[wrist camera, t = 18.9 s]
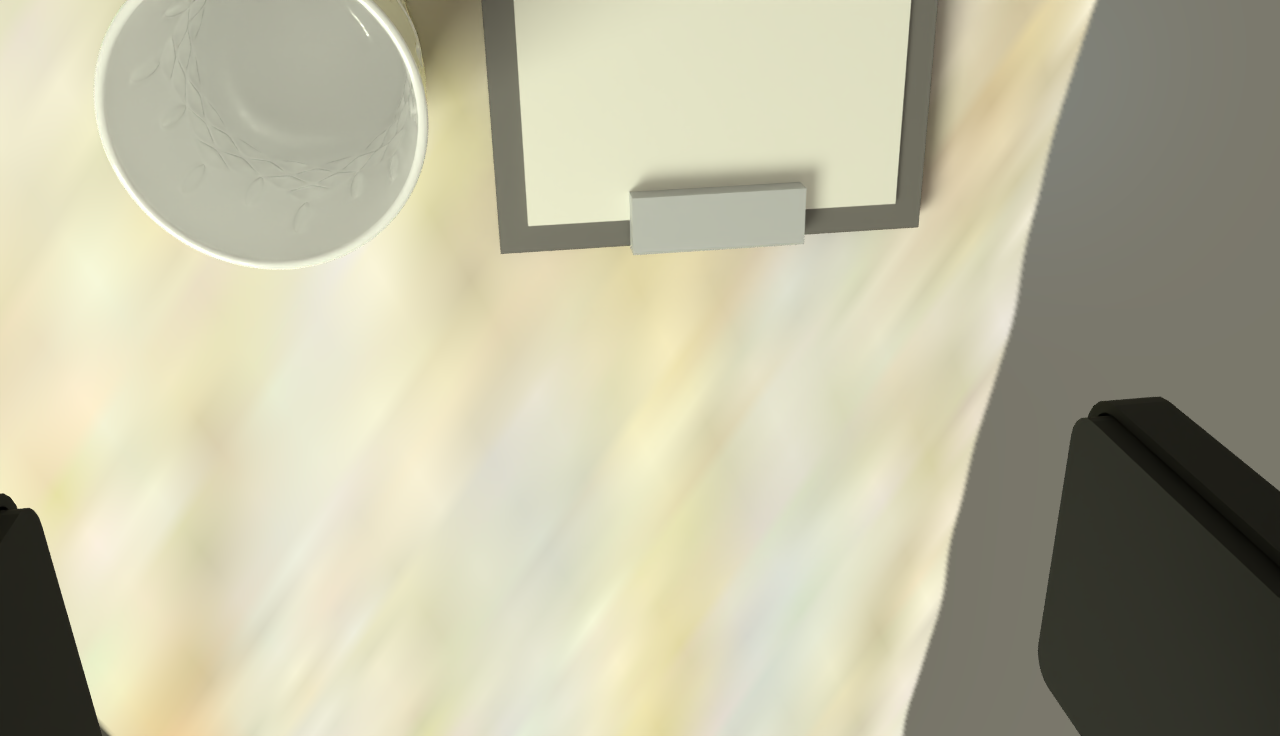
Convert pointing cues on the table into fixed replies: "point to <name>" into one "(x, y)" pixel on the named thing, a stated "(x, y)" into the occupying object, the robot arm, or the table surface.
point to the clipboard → (705, 120)
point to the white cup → (265, 122)
